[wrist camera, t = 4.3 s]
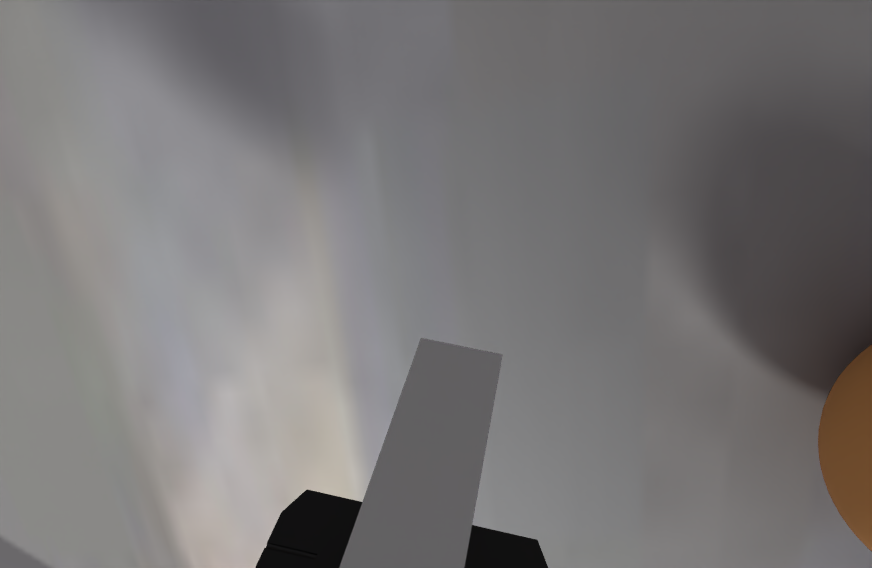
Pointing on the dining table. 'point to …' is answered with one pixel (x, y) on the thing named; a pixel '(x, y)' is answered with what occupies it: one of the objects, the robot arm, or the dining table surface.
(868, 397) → the ball
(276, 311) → the dining table surface
